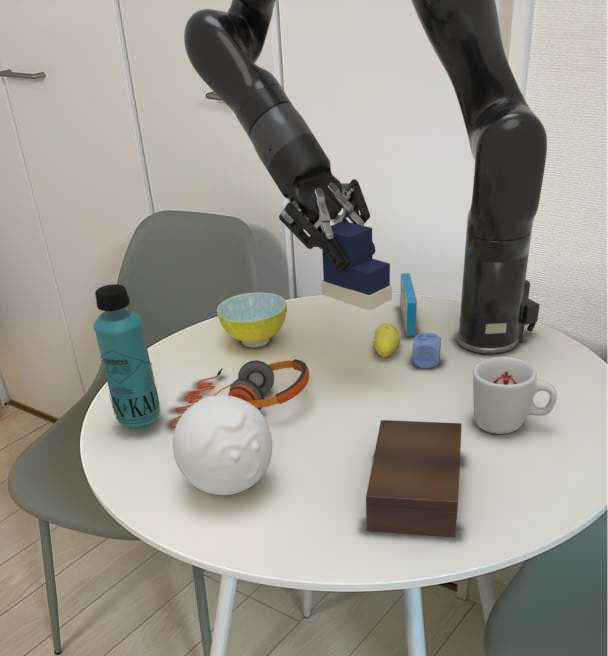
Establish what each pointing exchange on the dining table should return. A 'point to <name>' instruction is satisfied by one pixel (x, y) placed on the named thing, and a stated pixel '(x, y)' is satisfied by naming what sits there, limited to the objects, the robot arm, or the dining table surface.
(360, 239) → the navy blue block
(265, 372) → the headphones
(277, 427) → the dining table surface
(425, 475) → the brown platform
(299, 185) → the robot arm
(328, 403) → the dining table surface
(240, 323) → the bowl
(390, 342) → the lemon
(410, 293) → the blue rectangular panel
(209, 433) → the decorative ball
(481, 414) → the cup
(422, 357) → the decorative dice
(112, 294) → the beverage bottle
